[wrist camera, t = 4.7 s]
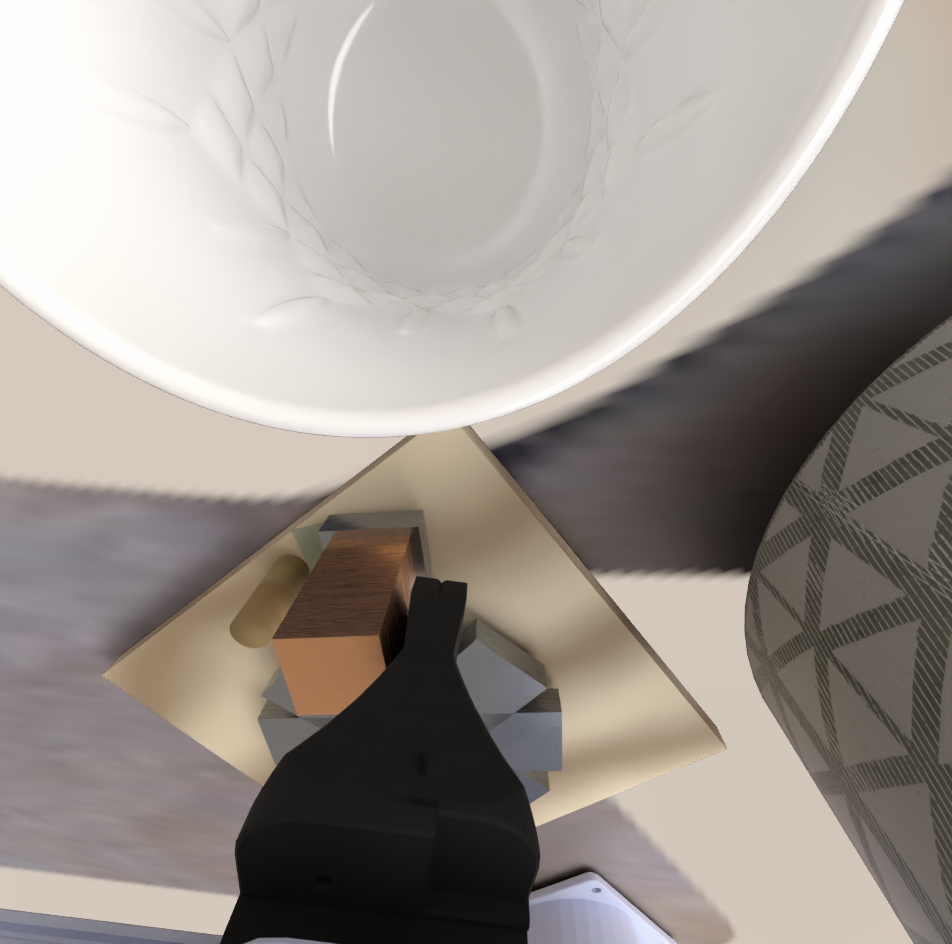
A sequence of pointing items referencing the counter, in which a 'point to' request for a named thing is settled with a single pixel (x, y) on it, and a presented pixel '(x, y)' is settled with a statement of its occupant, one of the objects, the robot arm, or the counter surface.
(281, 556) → the post board
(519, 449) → the counter surface
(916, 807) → the planter
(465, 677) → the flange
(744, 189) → the white cup
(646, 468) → the counter surface
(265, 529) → the counter surface
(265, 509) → the counter surface
